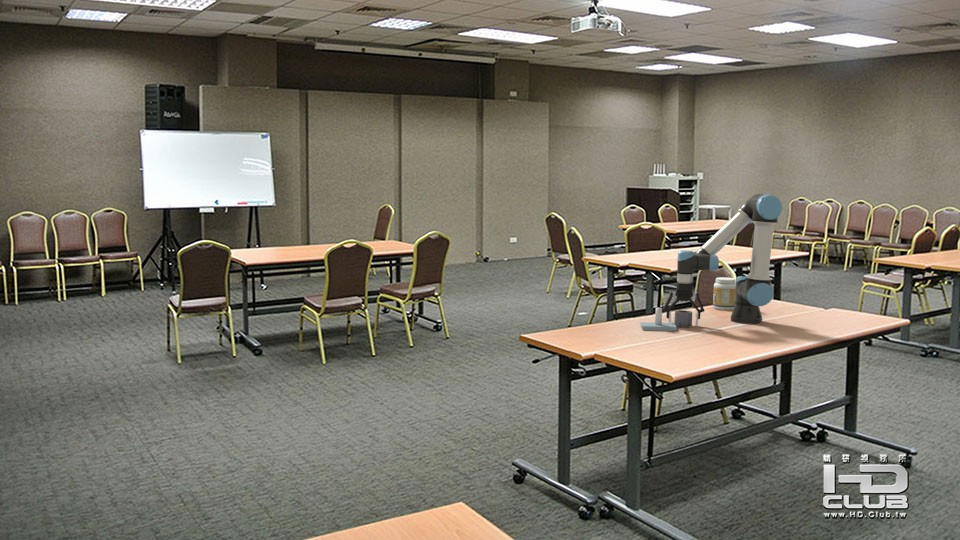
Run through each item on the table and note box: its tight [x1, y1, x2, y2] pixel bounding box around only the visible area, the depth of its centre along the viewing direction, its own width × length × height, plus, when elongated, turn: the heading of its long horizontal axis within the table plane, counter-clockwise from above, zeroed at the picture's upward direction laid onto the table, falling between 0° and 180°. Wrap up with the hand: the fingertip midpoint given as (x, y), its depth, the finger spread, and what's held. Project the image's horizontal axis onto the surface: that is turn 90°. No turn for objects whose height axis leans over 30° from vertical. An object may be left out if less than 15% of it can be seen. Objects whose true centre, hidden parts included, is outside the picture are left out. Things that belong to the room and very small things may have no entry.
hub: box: [673, 309, 693, 328], centre depth 391 cm, size 8×8×7 cm
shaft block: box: [640, 307, 678, 332], centre depth 384 cm, size 16×10×10 cm, turn 84°
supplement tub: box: [712, 276, 736, 311], centre depth 440 cm, size 12×12×17 cm
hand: (682, 325), depth 392 cm, fingers open, 12 cm apart
